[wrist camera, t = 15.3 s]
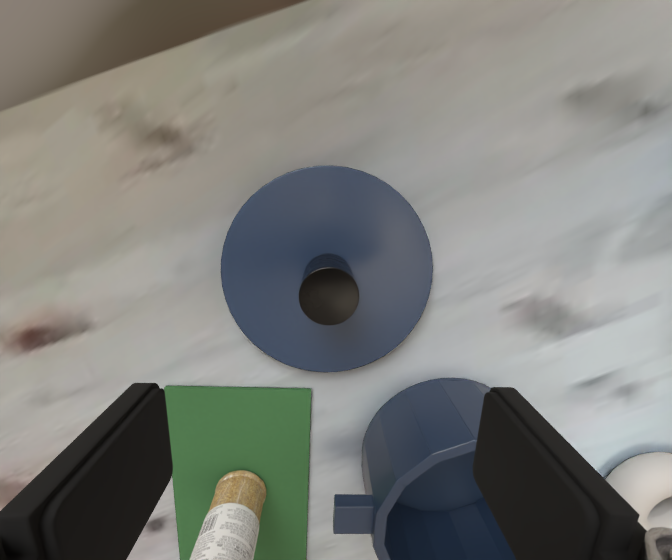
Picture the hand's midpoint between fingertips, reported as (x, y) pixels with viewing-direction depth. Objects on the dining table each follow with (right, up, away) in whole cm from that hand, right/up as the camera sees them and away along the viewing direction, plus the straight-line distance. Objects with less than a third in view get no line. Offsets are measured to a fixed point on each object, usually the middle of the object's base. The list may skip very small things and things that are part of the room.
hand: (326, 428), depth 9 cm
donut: (+30, -16, +22) cm, 40 cm away
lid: (0, +5, +15) cm, 16 cm away
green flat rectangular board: (-8, -14, +20) cm, 26 cm away
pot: (+10, -11, +20) cm, 25 cm away
